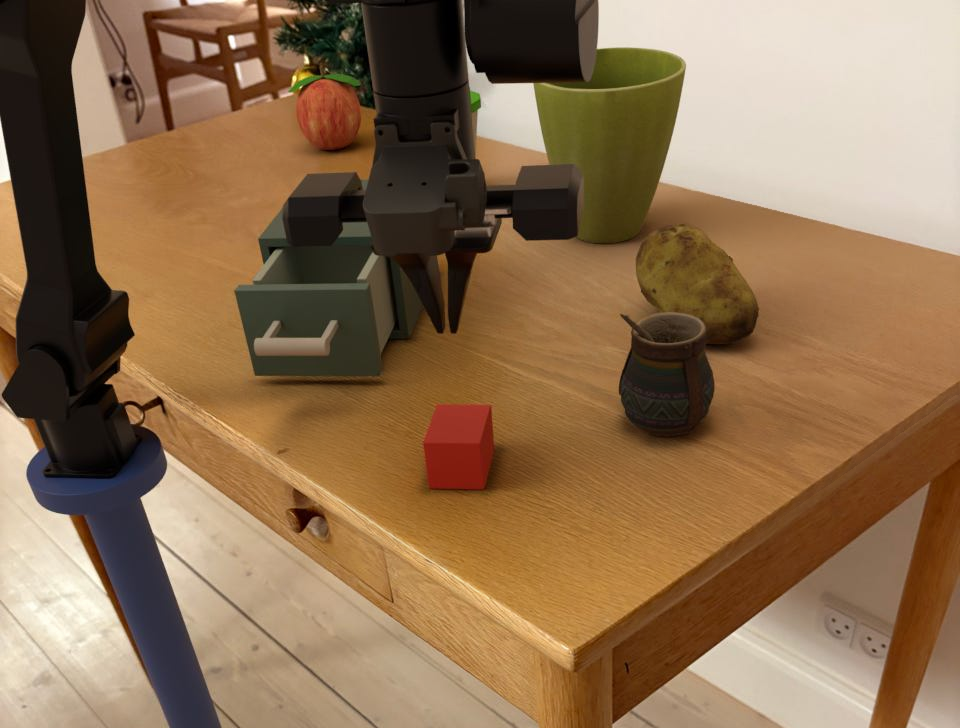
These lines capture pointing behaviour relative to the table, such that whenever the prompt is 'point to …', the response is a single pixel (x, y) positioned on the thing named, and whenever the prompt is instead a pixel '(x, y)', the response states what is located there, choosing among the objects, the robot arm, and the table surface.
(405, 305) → the cabinet
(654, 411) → the mate gourd
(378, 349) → the drawer
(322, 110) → the fruit
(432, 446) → the red block
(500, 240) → the table surface
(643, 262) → the potato
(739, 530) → the table surface
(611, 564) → the table surface
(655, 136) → the flower pot
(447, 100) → the robot arm
